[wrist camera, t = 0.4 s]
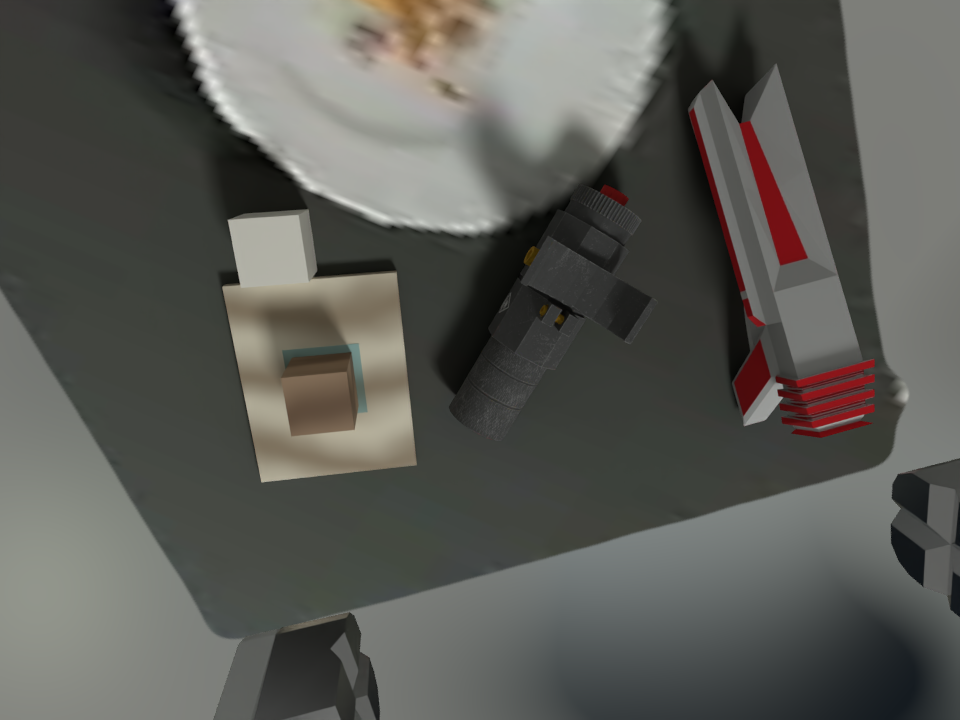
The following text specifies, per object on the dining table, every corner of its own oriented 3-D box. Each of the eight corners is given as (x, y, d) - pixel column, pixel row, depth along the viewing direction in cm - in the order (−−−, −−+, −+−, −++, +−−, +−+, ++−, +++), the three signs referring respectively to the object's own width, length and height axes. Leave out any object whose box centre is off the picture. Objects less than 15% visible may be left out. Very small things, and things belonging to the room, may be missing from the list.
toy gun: (709, 139, 60) (791, 56, 45) (788, 413, 59) (898, 423, 44) (642, 156, 60) (703, 78, 45) (720, 432, 59) (809, 448, 44)
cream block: (244, 213, 49) (227, 219, 44) (308, 209, 49) (298, 214, 44) (256, 275, 50) (240, 288, 46) (317, 270, 51) (308, 282, 46)
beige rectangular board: (225, 284, 50) (221, 286, 49) (396, 270, 51) (396, 272, 50) (263, 476, 56) (261, 482, 55) (416, 459, 57) (416, 465, 56)
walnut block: (291, 357, 52) (280, 378, 47) (351, 352, 52) (346, 371, 47) (301, 411, 53) (291, 436, 49) (358, 405, 54) (354, 429, 49)
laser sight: (426, 384, 55) (431, 432, 46) (556, 159, 50) (592, 160, 41) (517, 429, 58) (539, 482, 48) (649, 218, 53) (703, 232, 43)
